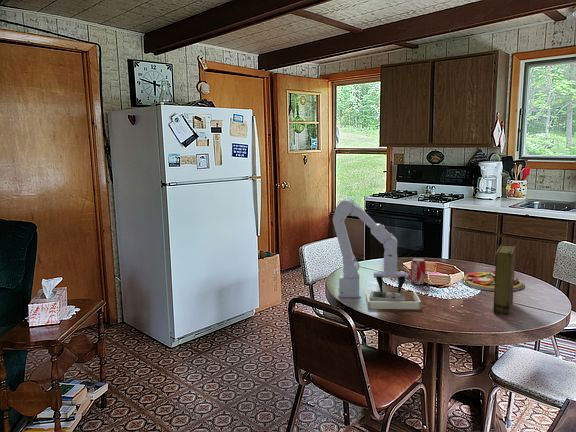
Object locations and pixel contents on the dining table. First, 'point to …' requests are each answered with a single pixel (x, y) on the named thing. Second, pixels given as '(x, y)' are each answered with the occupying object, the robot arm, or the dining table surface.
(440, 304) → the dining table surface
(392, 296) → the handheld gaming device
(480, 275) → the toy pizza
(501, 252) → the book
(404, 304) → the white tray
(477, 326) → the dining table surface
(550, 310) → the dining table surface
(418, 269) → the soda can
